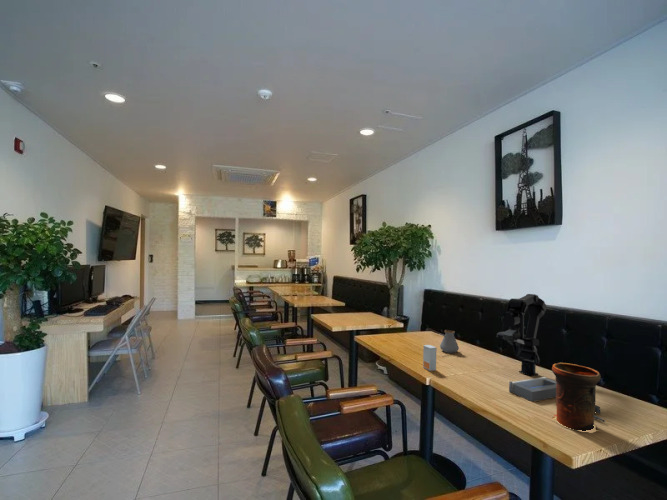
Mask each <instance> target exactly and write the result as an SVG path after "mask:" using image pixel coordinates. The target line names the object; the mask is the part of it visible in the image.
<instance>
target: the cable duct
mask: <svg viewBox="0 0 667 500" xmlns="http://www.w3.org/2000/svg"><path fill="white" fill-rule="evenodd" d="M545 385H547V386H545ZM556 385H557V384H556V380H553V379H550V378H547V379H544V386H542V387H536V388H529V387H526V386H524V385H521V384H514V392H513V394H514V395H516V396H519V397H521V398H523V399H525V400H528V401H529V402H532V403H533V402H539V401H542V400H547V399H548V398H549V399H553V398H552V397H554V398H556Z"/></svg>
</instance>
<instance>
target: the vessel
mask: <svg viewBox="0 0 667 500" xmlns="http://www.w3.org/2000/svg"><path fill="white" fill-rule="evenodd" d="M551 371H552V373H553V375H554V377H555V380H554V381H556V384H557V385H556V397H555V400H556V401H555V403H556V414H553V416H552V415H550V417H551V419H553V420H554V419H556V421H558V422H559V423H560V424H562V425H563V426H566V427H568V428H571V429H574V430H582V431H586V430H591V429H593V428H594V426H593V425H594V424H595V418H594V415H595V414H594V413H595V405H596V390H597V389H596V387H597V384H599V382H600V381H601V378H602V377H601V374H600V372H599V371H598V370H596V369H594V368H591V367H587V366H583V365H578V364H575V363H574V364H573V363H567V362H557V363H554V364H552V367H551ZM571 429H570V430H571Z"/></svg>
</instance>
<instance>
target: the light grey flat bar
mask: <svg viewBox="0 0 667 500" xmlns="http://www.w3.org/2000/svg"><path fill="white" fill-rule="evenodd" d="M544 379H548V378H547V377H546V376H543V377H536V378H529V379H523V380H517V381H508V392H509V393H514V384H521V385H524V386H526V387H529V388H533V387H539V386H544Z"/></svg>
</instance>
